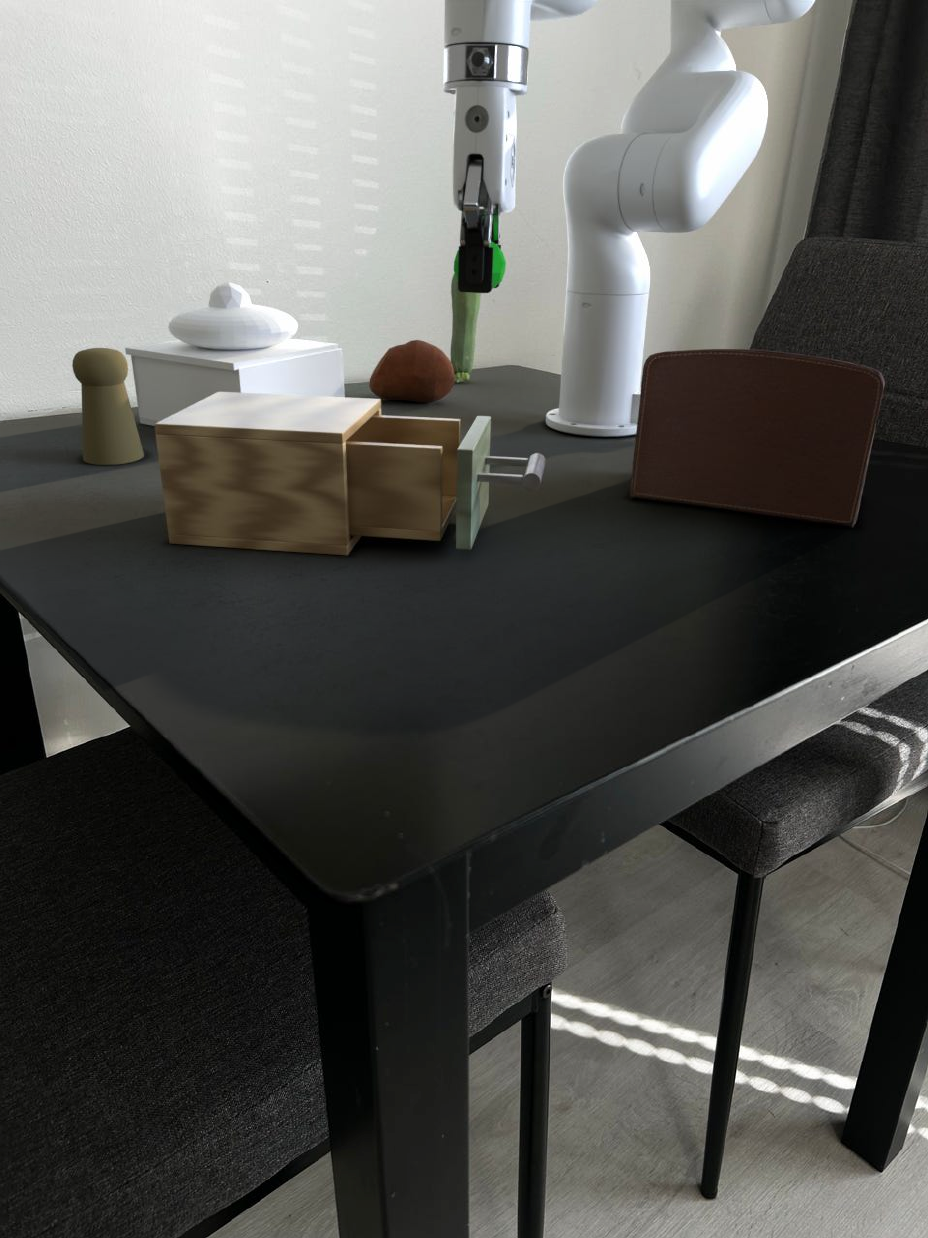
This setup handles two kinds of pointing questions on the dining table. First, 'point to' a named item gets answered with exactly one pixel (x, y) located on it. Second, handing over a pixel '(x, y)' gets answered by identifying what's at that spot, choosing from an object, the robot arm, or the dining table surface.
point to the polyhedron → (498, 265)
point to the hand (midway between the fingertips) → (479, 287)
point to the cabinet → (260, 471)
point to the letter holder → (756, 432)
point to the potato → (413, 373)
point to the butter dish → (231, 357)
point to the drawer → (425, 477)
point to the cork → (106, 408)
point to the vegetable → (463, 330)
